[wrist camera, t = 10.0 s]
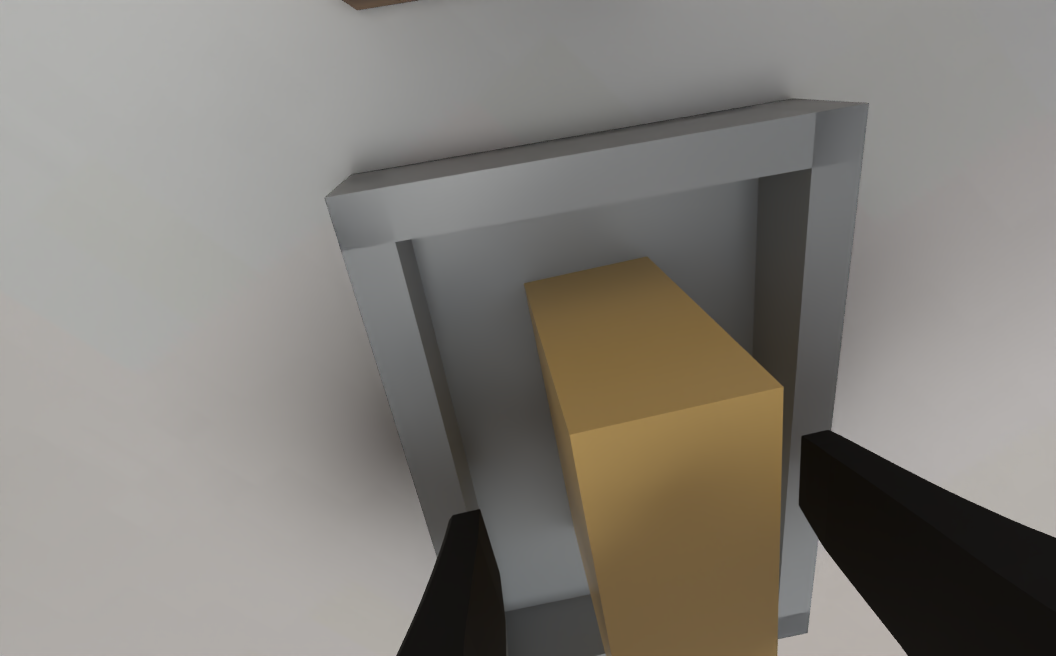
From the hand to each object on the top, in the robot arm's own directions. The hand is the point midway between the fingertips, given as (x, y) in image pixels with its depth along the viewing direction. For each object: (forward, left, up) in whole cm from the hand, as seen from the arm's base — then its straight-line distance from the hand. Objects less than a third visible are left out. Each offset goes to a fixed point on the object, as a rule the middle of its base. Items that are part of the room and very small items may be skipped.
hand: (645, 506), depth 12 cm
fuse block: (0, 0, -3) cm, 3 cm away
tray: (0, 0, -4) cm, 4 cm away
